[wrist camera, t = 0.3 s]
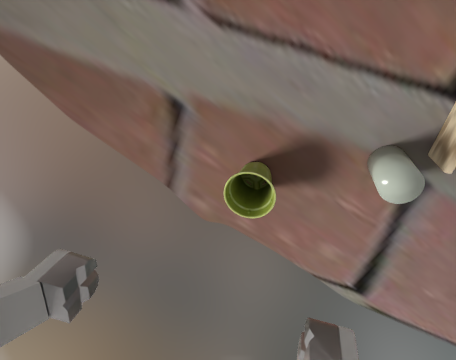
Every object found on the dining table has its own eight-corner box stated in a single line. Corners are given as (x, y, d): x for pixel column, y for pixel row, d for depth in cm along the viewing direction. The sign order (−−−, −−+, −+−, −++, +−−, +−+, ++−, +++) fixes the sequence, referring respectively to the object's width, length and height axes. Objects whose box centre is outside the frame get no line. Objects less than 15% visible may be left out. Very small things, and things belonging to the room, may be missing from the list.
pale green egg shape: (375, 141, 52) (387, 161, 44) (413, 150, 51) (433, 172, 43) (361, 173, 55) (370, 197, 47) (397, 182, 54) (412, 208, 46)
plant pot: (289, 173, 58) (287, 195, 51) (260, 203, 63) (253, 227, 56) (252, 144, 58) (244, 161, 50) (225, 176, 62) (213, 197, 55)
